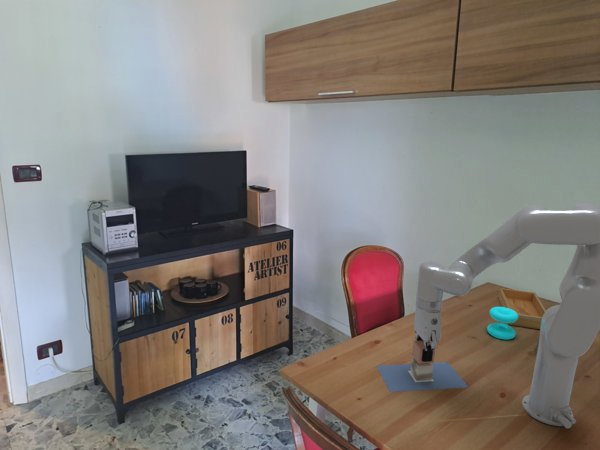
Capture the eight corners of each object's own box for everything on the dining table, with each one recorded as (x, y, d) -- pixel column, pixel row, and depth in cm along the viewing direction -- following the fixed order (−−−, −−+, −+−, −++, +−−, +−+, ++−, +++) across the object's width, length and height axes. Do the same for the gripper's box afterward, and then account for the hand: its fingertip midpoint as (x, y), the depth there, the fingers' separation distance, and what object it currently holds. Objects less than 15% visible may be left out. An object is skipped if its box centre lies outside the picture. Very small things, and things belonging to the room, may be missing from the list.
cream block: (431, 380, 131) (433, 365, 130) (416, 380, 131) (418, 366, 130) (425, 370, 136) (426, 357, 135) (410, 371, 136) (411, 357, 134)
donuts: (489, 303, 167) (516, 307, 164) (485, 326, 170) (512, 331, 167) (491, 314, 158) (520, 318, 155) (487, 338, 161) (516, 343, 157)
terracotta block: (433, 362, 130) (435, 348, 129) (418, 363, 129) (419, 349, 128) (426, 354, 135) (428, 340, 134) (412, 355, 134) (413, 340, 133)
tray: (498, 298, 200) (499, 287, 199) (533, 303, 196) (535, 291, 194) (507, 326, 172) (509, 313, 170) (549, 332, 167) (551, 319, 166)
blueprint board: (468, 389, 129) (468, 386, 128) (390, 393, 125) (390, 391, 125) (447, 363, 142) (447, 361, 142) (376, 367, 139) (376, 365, 139)
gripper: (453, 314, 120) (446, 371, 124) (428, 291, 136) (423, 342, 141) (428, 315, 119) (422, 372, 123) (406, 292, 135) (401, 343, 140)
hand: (423, 355), depth 132 cm, fingers closed on terracotta block, 4 cm apart
